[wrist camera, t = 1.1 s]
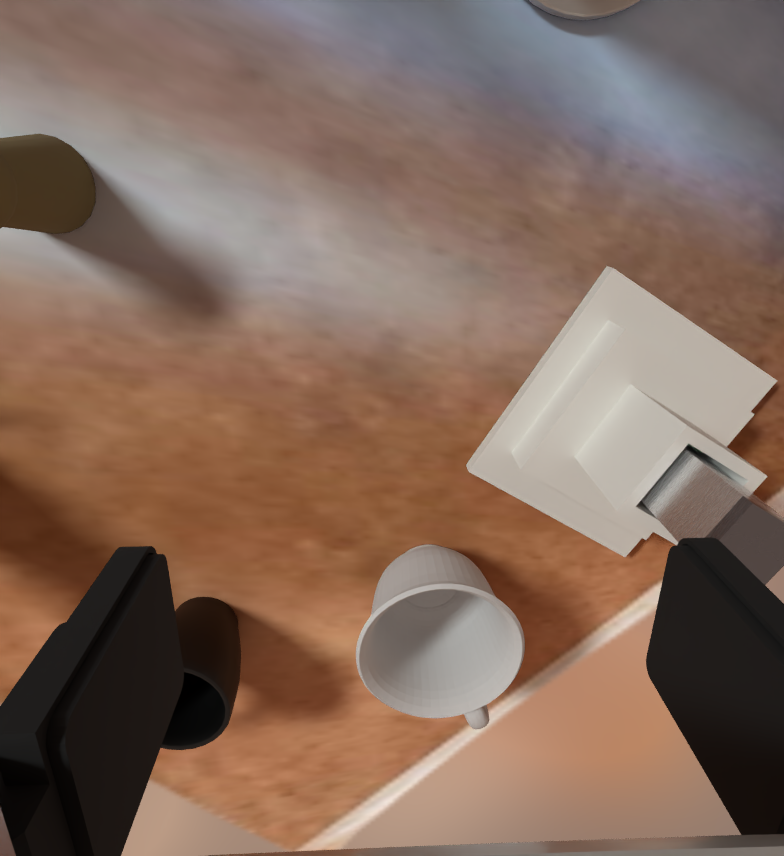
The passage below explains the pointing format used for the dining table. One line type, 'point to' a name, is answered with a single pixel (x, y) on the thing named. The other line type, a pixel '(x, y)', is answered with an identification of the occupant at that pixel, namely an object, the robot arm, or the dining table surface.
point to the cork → (43, 185)
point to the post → (718, 512)
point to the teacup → (438, 638)
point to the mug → (205, 673)
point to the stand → (620, 414)
